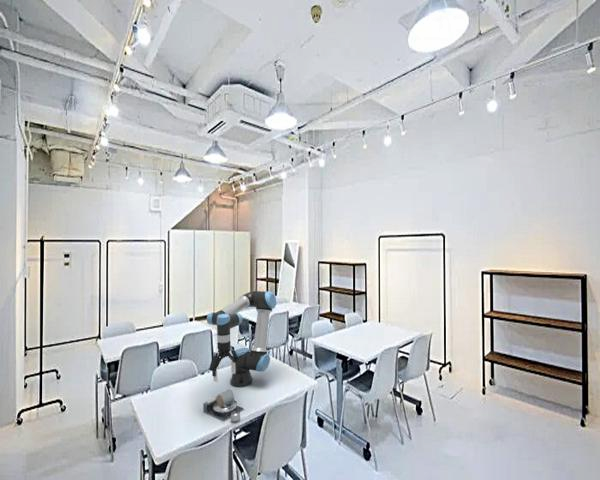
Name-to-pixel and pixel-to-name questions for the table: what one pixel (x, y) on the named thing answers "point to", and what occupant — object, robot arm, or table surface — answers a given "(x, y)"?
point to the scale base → (219, 415)
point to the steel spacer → (235, 416)
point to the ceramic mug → (225, 399)
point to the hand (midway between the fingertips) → (224, 377)
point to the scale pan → (223, 409)
